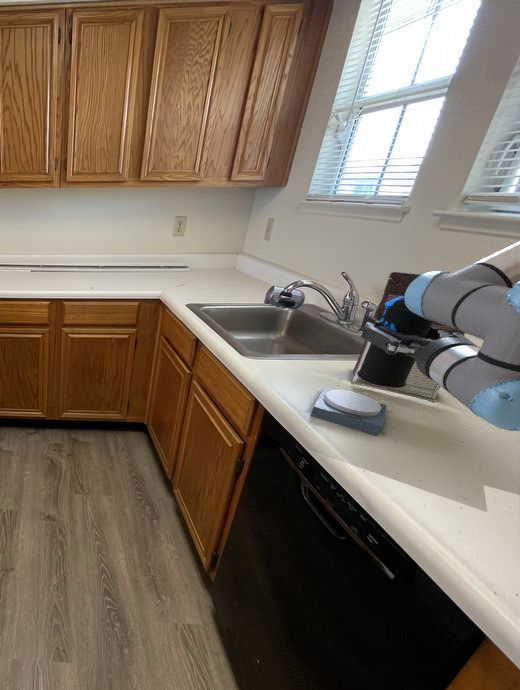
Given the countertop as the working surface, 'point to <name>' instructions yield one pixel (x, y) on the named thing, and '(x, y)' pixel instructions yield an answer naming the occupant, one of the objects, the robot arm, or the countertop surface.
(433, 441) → the countertop surface
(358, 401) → the kitchen scale
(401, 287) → the protein powder
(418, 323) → the aerosol can
